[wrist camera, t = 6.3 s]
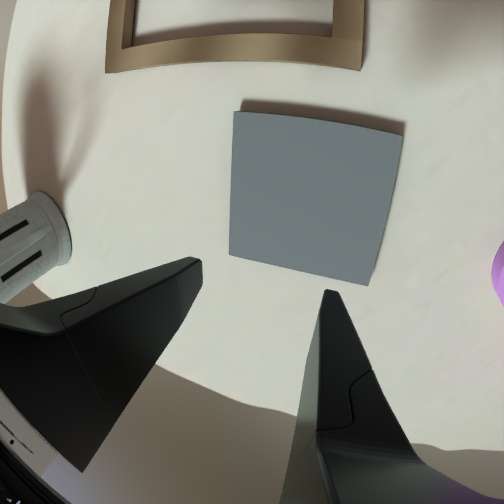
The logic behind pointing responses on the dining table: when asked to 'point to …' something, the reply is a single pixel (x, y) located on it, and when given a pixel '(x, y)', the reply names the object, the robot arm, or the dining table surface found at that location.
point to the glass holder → (31, 243)
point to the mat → (310, 193)
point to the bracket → (499, 273)
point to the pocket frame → (238, 43)
